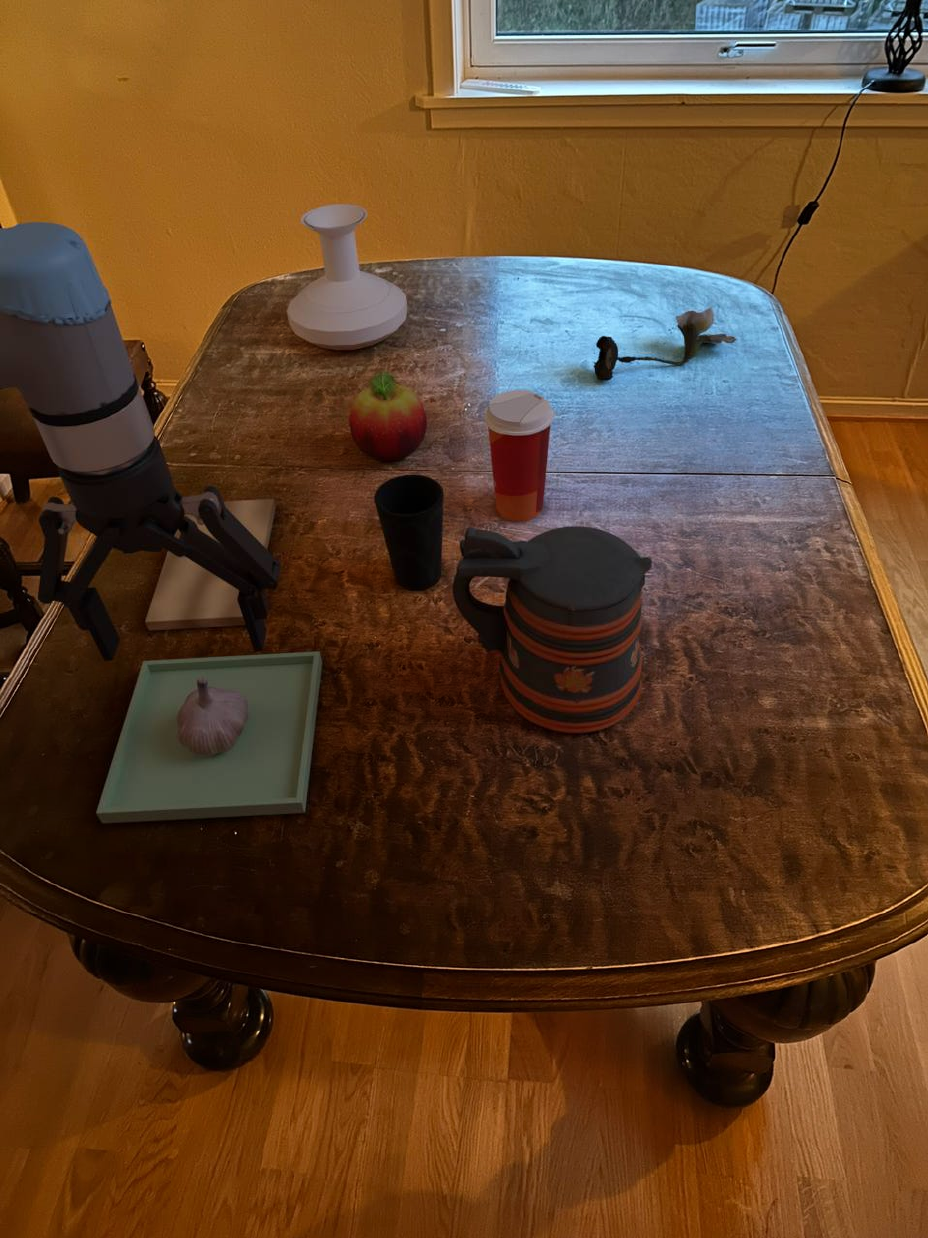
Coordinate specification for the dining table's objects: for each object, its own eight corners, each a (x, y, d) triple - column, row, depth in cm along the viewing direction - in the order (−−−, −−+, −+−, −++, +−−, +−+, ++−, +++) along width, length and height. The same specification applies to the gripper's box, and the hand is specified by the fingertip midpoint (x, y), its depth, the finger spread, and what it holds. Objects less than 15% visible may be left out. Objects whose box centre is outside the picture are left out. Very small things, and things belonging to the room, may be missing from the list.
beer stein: (457, 739, 88) (444, 593, 74) (460, 633, 99) (449, 488, 85) (649, 736, 87) (672, 587, 73) (632, 630, 98) (649, 482, 84)
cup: (378, 592, 104) (364, 511, 96) (396, 550, 109) (385, 470, 101) (441, 600, 103) (433, 519, 94) (457, 558, 108) (451, 477, 99)
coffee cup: (521, 480, 118) (521, 379, 108) (564, 508, 114) (568, 405, 103) (473, 506, 115) (468, 405, 104) (516, 536, 110) (515, 433, 100)
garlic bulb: (237, 694, 93) (218, 641, 87) (269, 737, 89) (251, 685, 83) (169, 729, 90) (146, 677, 84) (199, 776, 86) (176, 724, 80)
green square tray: (102, 823, 83) (95, 813, 82) (148, 671, 97) (143, 660, 96) (305, 813, 83) (301, 802, 82) (322, 662, 97) (319, 651, 95)
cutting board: (148, 631, 101) (144, 621, 100) (185, 512, 117) (182, 503, 116) (252, 625, 101) (249, 615, 100) (276, 507, 117) (273, 498, 116)
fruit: (351, 474, 121) (340, 410, 114) (355, 430, 129) (346, 368, 122) (429, 469, 121) (423, 405, 114) (429, 426, 129) (423, 363, 122)
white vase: (290, 314, 157) (267, 201, 143) (401, 299, 159) (389, 186, 145) (295, 369, 143) (271, 249, 129) (417, 352, 145) (406, 232, 131)
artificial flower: (584, 372, 140) (588, 306, 135) (713, 364, 145) (721, 300, 140) (606, 385, 132) (611, 315, 128) (741, 376, 137) (750, 309, 133)
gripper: (279, 410, 68) (326, 608, 83) (-41, 431, 68) (63, 624, 83) (266, 466, 62) (319, 667, 77) (-81, 489, 63) (38, 684, 78)
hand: (186, 645), depth 80 cm, fingers open, 13 cm apart
